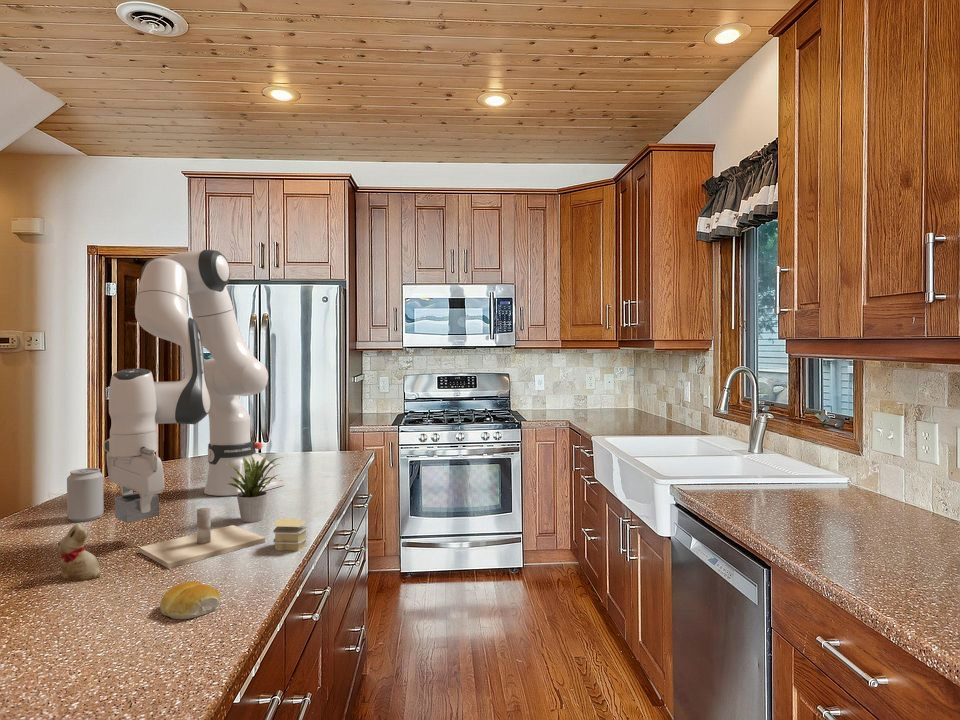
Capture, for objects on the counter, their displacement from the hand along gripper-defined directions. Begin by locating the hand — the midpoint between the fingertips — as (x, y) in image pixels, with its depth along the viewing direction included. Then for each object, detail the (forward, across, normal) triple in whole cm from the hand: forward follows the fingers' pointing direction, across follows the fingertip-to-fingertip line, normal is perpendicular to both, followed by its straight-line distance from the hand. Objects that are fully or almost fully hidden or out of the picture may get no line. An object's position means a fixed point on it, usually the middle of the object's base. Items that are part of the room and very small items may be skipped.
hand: (136, 508), depth 127 cm
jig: (+8, -14, -8) cm, 18 cm away
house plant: (+8, -4, -26) cm, 27 cm away
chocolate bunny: (+7, -12, +14) cm, 20 cm away
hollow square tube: (+2, 0, 0) cm, 2 cm away
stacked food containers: (+8, -28, -19) cm, 35 cm away
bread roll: (+7, -41, +8) cm, 42 cm away
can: (+8, +29, +1) cm, 30 cm away
